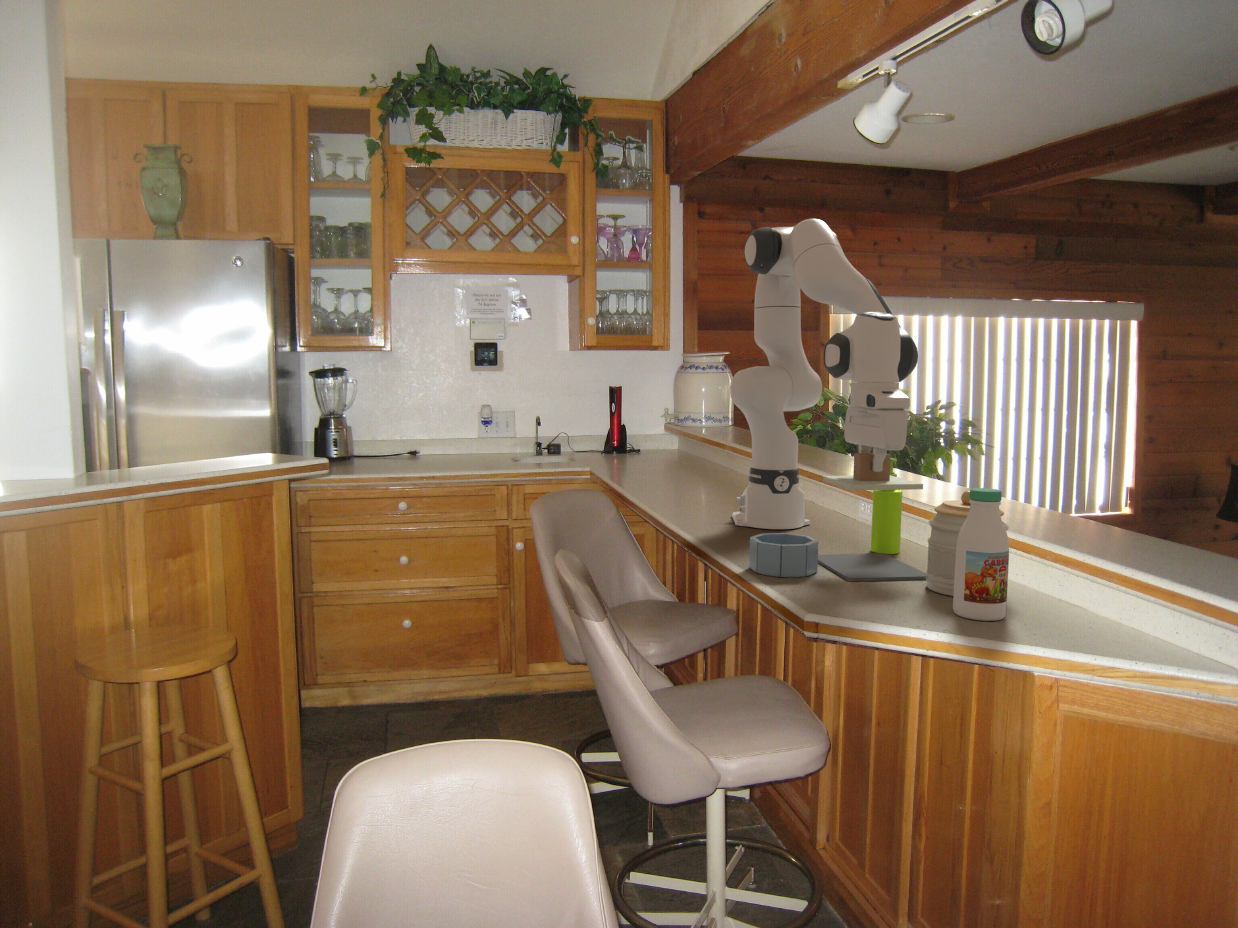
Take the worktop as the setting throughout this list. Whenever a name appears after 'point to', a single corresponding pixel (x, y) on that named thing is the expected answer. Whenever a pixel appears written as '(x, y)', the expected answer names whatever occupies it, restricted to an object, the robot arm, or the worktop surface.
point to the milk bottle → (982, 560)
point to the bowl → (783, 555)
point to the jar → (946, 543)
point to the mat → (869, 567)
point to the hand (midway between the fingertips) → (871, 470)
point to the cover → (871, 476)
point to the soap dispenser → (886, 519)
